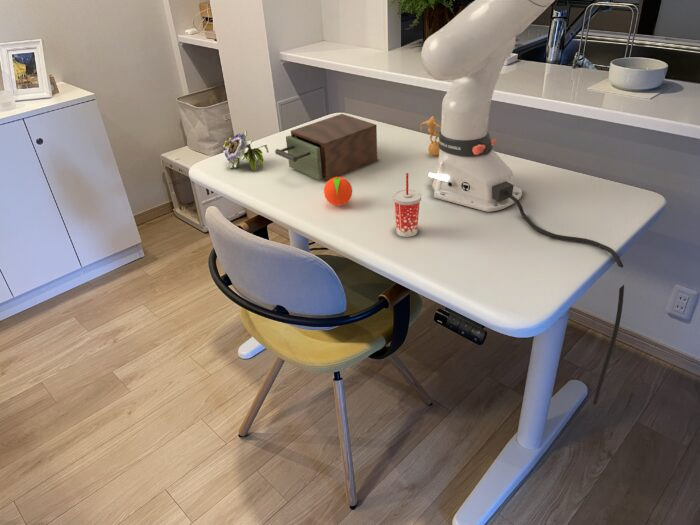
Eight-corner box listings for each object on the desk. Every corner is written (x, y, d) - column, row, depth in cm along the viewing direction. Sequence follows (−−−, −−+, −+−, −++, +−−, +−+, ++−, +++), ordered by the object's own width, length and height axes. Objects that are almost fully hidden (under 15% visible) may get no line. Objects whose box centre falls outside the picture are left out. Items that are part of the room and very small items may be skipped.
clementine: (352, 212, 131) (351, 185, 127) (324, 213, 131) (321, 186, 127) (353, 197, 137) (351, 170, 133) (325, 198, 138) (323, 172, 134)
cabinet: (327, 181, 146) (324, 143, 140) (294, 166, 155) (290, 130, 150) (377, 160, 156) (376, 124, 150) (344, 148, 165) (341, 113, 159)
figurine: (451, 155, 156) (453, 114, 149) (440, 163, 152) (442, 121, 146) (426, 150, 160) (427, 109, 154) (415, 157, 157) (415, 116, 150)
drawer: (301, 187, 142) (298, 155, 137) (272, 173, 150) (268, 142, 145) (367, 160, 154) (366, 130, 149) (336, 148, 163) (334, 120, 158)
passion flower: (236, 185, 160) (212, 150, 158) (265, 167, 165) (241, 133, 163) (248, 174, 150) (222, 137, 148) (278, 156, 155) (253, 119, 153)
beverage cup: (426, 230, 122) (428, 172, 114) (409, 241, 118) (409, 182, 110) (404, 222, 125) (404, 165, 118) (387, 232, 122) (386, 174, 114)
